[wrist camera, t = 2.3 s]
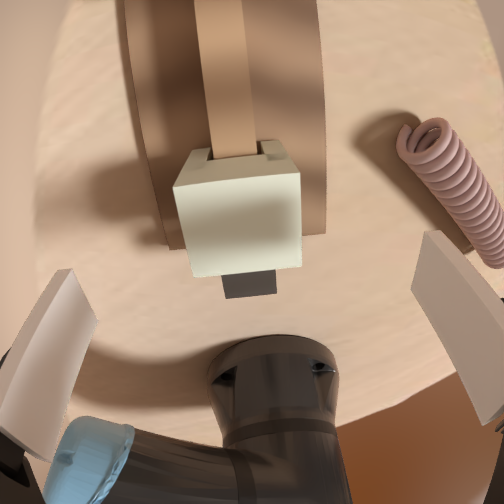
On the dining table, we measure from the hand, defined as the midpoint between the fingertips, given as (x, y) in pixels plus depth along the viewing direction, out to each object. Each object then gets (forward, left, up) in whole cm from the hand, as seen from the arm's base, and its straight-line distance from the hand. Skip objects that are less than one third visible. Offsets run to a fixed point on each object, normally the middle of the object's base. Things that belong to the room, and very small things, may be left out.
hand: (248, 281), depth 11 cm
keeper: (0, 0, -11) cm, 11 cm away
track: (+6, 0, -12) cm, 14 cm away
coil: (-3, -19, -13) cm, 23 cm away
